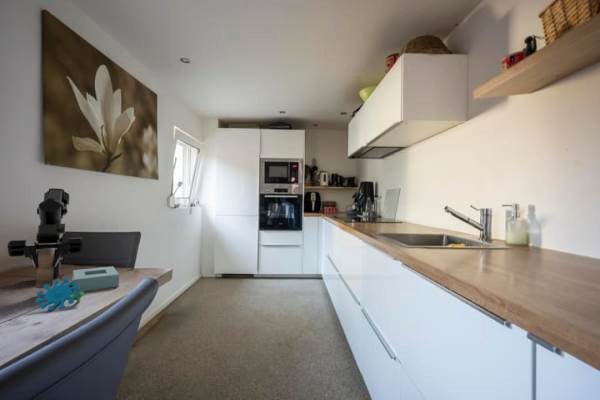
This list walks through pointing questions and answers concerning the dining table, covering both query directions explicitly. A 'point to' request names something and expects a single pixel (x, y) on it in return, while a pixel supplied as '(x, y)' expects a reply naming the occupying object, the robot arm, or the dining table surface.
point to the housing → (95, 278)
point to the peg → (45, 267)
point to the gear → (59, 294)
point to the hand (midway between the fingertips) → (45, 267)
